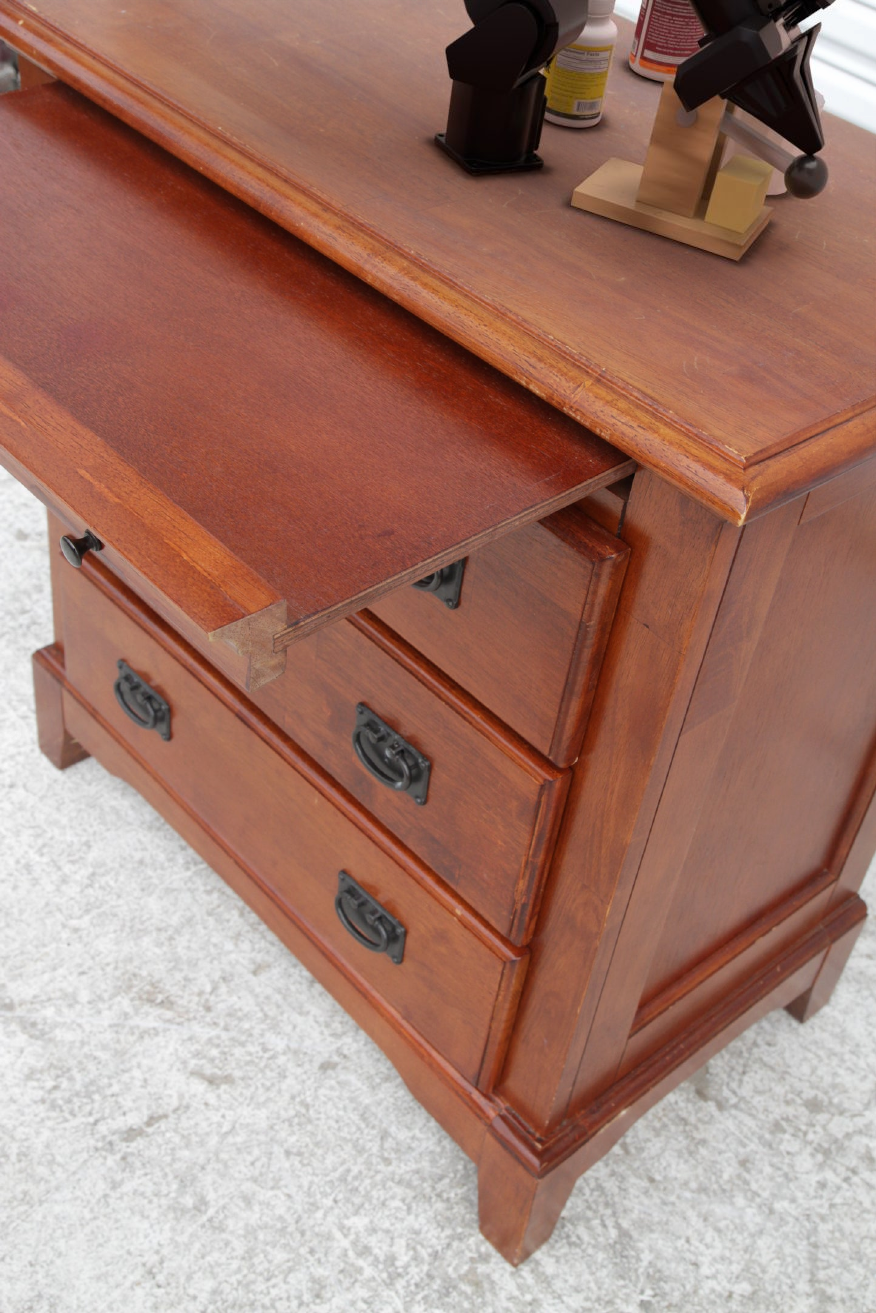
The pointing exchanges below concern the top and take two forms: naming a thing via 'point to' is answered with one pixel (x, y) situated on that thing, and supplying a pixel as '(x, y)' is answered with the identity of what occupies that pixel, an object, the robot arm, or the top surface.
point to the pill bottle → (664, 38)
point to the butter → (739, 193)
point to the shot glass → (735, 148)
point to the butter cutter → (672, 180)
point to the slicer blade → (780, 159)
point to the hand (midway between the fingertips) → (817, 151)
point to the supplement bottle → (583, 71)
